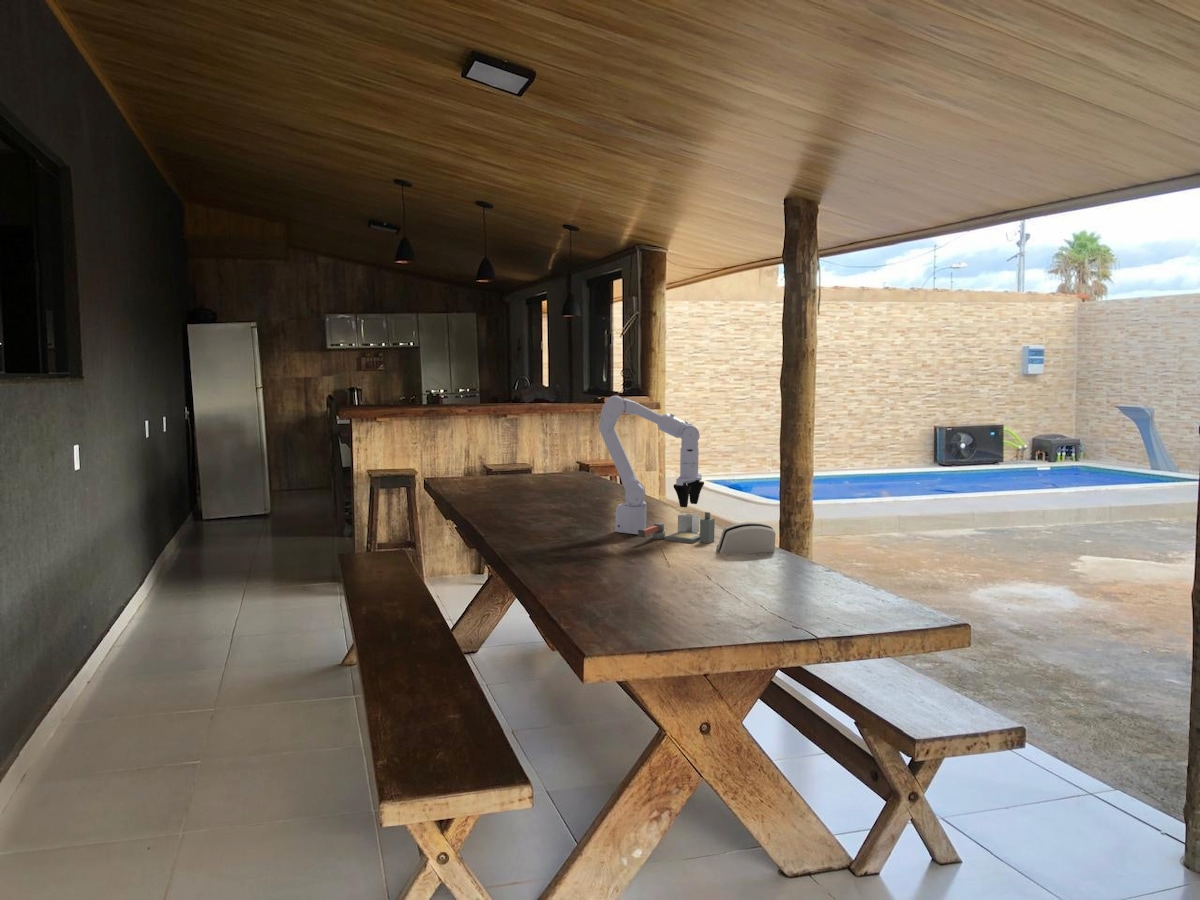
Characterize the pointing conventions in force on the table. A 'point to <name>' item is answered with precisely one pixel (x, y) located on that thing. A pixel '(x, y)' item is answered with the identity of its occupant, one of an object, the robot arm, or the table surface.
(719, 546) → the white arched thin slab
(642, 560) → the table surface
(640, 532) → the lever
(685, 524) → the block
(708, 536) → the press
